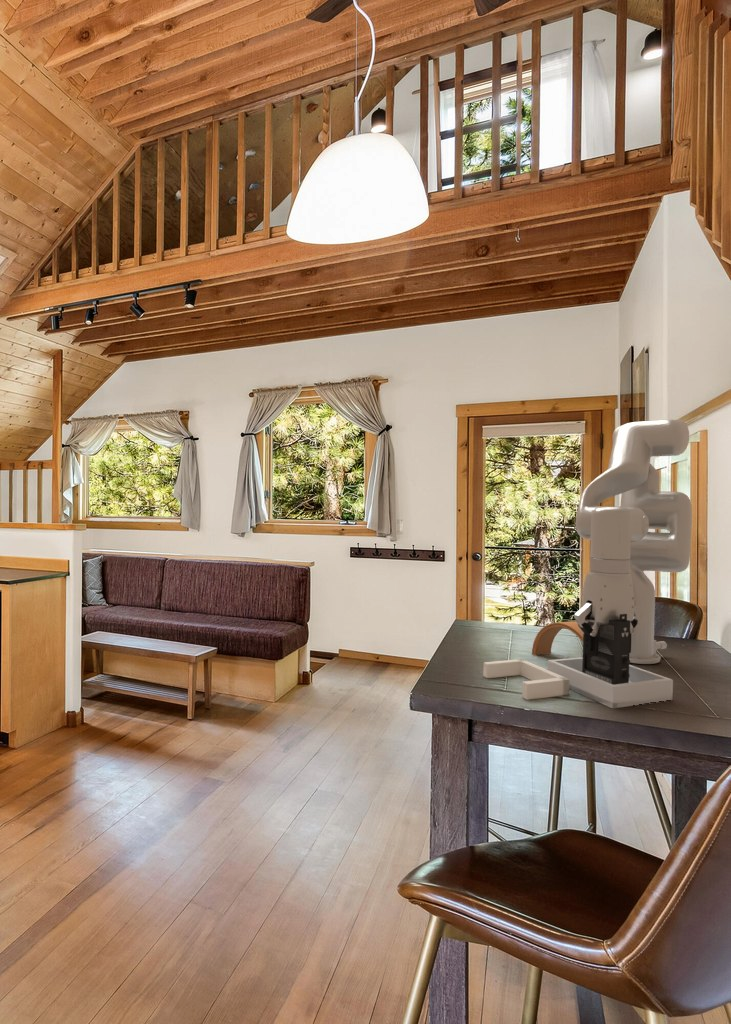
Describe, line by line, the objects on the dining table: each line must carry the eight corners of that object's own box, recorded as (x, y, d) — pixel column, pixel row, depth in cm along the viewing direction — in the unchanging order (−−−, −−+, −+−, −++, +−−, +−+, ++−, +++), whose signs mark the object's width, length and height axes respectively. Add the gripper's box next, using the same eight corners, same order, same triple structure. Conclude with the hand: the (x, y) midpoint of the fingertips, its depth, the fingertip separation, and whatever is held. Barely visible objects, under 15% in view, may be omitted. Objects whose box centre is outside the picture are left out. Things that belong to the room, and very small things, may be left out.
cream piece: (521, 672, 120) (522, 658, 120) (569, 694, 106) (569, 679, 106) (483, 676, 116) (483, 662, 116) (526, 699, 102) (527, 684, 102)
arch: (595, 676, 118) (595, 630, 118) (531, 656, 136) (531, 617, 136) (614, 673, 120) (613, 628, 120) (549, 654, 138) (548, 615, 139)
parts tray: (601, 672, 121) (602, 655, 121) (672, 700, 104) (673, 679, 104) (547, 678, 116) (547, 660, 116) (612, 708, 99) (613, 686, 99)
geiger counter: (637, 690, 106) (639, 614, 106) (621, 693, 104) (623, 616, 104) (594, 675, 115) (596, 605, 115) (578, 677, 114) (580, 606, 114)
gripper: (627, 564, 116) (625, 645, 116) (562, 566, 110) (560, 651, 110) (657, 568, 109) (654, 654, 109) (589, 570, 103) (587, 661, 103)
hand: (607, 652), depth 110 cm, fingers open, 8 cm apart
